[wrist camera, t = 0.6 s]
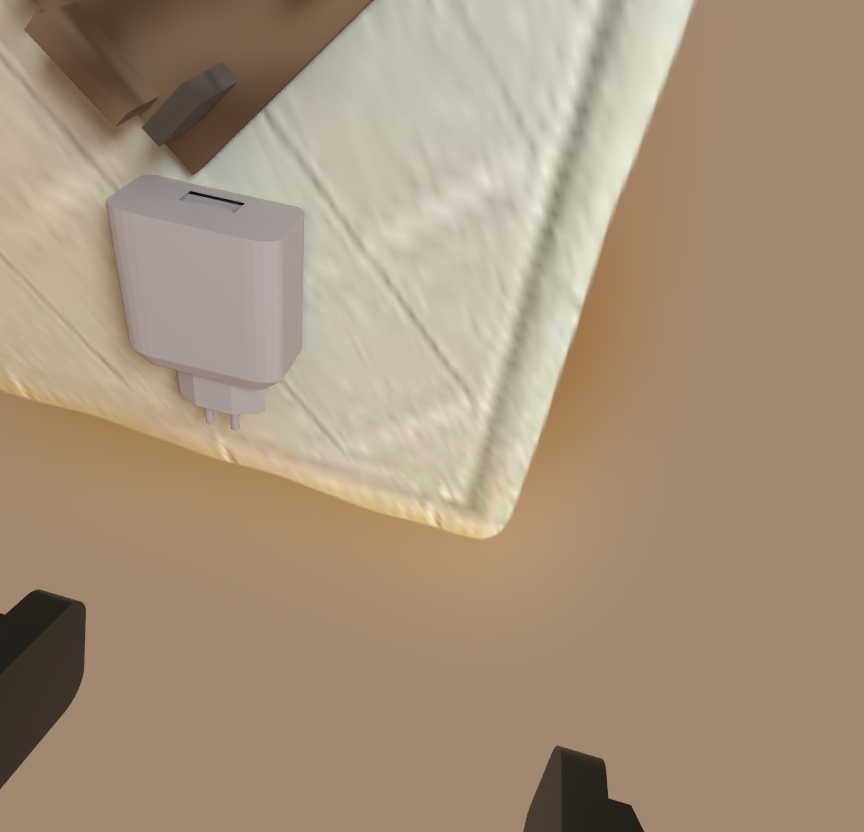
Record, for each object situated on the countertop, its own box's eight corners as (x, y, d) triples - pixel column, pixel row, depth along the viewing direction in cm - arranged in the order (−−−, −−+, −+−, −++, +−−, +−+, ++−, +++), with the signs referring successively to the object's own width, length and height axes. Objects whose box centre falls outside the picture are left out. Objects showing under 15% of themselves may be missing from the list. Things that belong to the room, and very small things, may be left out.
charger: (174, 387, 48) (146, 170, 39) (304, 419, 48) (309, 206, 38) (137, 431, 45) (97, 204, 35) (277, 466, 44) (275, 245, 34)
